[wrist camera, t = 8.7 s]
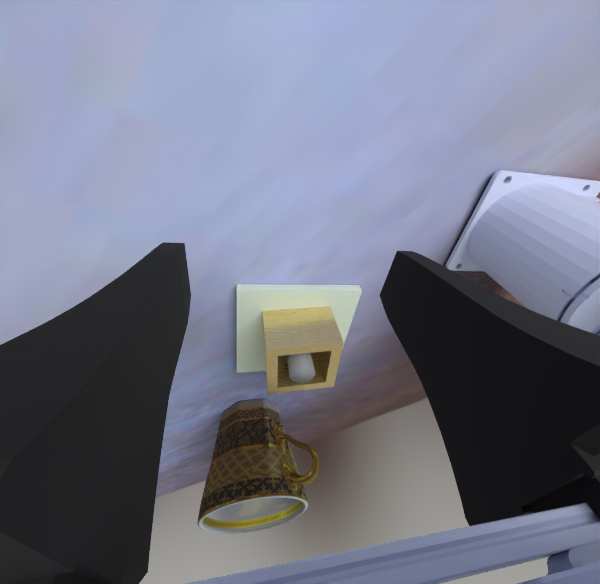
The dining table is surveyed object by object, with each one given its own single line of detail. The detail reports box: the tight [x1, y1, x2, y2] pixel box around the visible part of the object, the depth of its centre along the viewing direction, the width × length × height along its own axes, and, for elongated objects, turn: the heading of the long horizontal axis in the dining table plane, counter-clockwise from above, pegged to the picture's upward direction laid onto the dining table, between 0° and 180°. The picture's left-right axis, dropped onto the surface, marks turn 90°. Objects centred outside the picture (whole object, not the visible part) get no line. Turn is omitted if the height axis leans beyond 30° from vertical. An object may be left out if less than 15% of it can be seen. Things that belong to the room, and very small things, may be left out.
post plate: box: [237, 284, 362, 383], centre depth 24 cm, size 10×10×5 cm
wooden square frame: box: [263, 306, 344, 394], centre depth 24 cm, size 6×6×4 cm
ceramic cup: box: [198, 399, 319, 534], centre depth 30 cm, size 13×10×10 cm
